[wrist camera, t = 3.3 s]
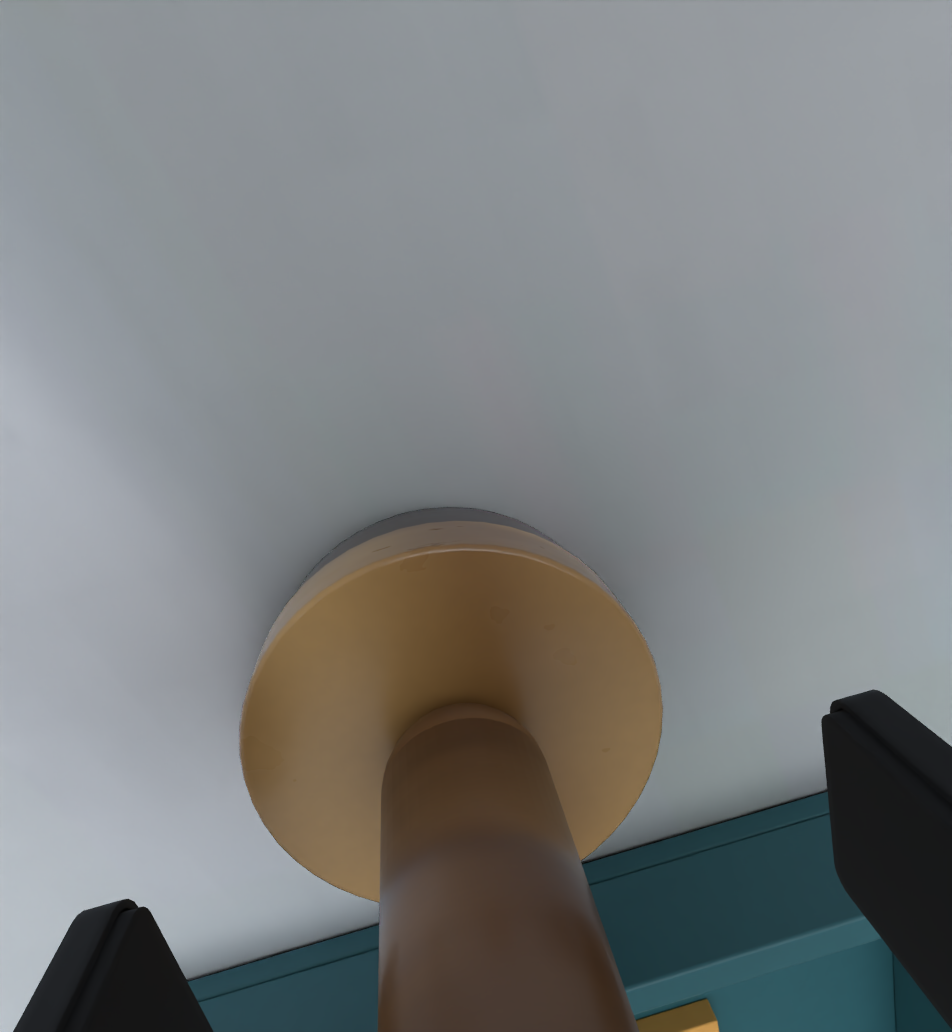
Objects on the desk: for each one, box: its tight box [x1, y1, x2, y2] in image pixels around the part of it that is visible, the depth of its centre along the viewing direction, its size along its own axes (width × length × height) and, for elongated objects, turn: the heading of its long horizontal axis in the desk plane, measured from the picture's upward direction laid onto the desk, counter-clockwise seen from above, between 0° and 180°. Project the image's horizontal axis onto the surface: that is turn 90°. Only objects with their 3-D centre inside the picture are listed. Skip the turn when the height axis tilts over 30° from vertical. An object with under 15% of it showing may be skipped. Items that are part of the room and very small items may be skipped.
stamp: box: [239, 507, 663, 1032], centre depth 9 cm, size 7×7×10 cm
